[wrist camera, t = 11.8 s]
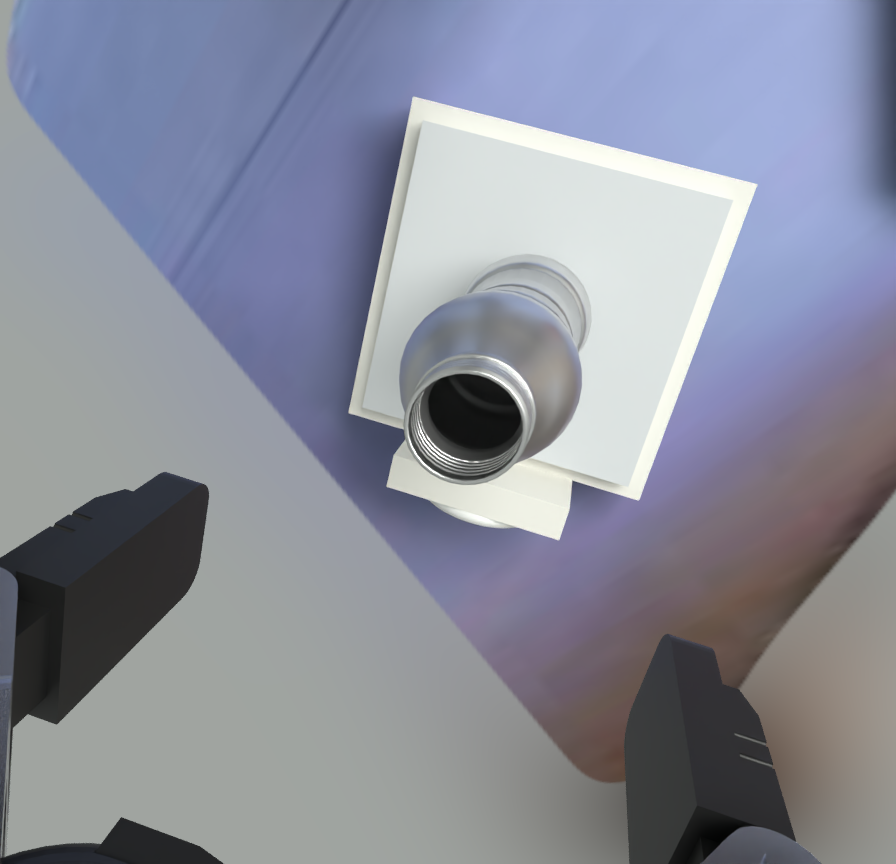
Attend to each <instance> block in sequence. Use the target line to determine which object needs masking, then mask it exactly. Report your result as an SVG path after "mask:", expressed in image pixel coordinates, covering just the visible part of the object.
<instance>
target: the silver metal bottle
mask: <svg viewBox="0 0 896 864" xmlns="http://www.w3.org/2000/svg"><path fill="white" fill-rule="evenodd" d="M591 322H592V316H591V305H590V301H589V296H588V294H587V292H586V290H585V288H584V286H583V284H582V283H581V281H580V280H579V279H578V277H577V276H576V275H575V274H574V273H573V272H572V271H571V270H570V269H568V268H567V267H566V266H565V265H563V264H561V263H559V262H557V261H556V260H554V259H551V258H548V257H544V256H541V255H532V254H523V255H514V256H510V257H507V258H503V259H501V260H499V261H497V262H495V263H493V264H491V265H489V266H488V267H487V268H485V269H484V270H483V271H482V272H480V273H479V274H478V275H477V277H476V278H475V279H474V280H473V281H472V282H471V284H470V286H469V287H468V289H467V291H466V293H465V295H462V296H460V297H458V298H455V299H453V300H451V301H449V302H447V303H445V304H443V305H441V306H439V307H438V308H437V309H435V310H434V311H433V312H432V313H430V314H429V315H428V316H426V317H425V318H424V320H423V321H422V322H421V323H420V324H419V325H418V326H417V328H416V329H415V330H414V331H413V333H412V335H411V337H410V339H409V340H408V342H407V344H406V346H405V349H404V352H403V356H402V359H401V363H400V373H399V386H400V396H401V403H402V406H403V409H404V412H405V415H404V425H403V426H404V435H405V439H406V442H407V446H408V448H409V450H410V452H411V454H412V455H413V457H414V458H415V460H416V461H417V462H418V463H419V464H420V466H421V467H423V468H424V469H425V470H426V471H427V472H429V473H430V474H432V475H433V476H435V477H437V478H439V479H441V480H444V481H447V482H449V483H454V484H460V485H476V484H481V483H486V482H489V481H491V480H493V479H496V478H498V477H499V476H501V475H503V474H504V473H506V472H507V471H508V470H509V469H510V468H511V467H512V466H513V465H514V464H516V463H518V462H521V461H523V460H526V459H528V458H530V457H532V456H534V455H536V454H537V453H539V452H540V451H542V450H544V449H545V448H547V447H548V446H550V445H551V444H552V443H553V442H554V441H555V440H556V439H557V438H558V437H559V436H560V435H561V434H562V433H563V432H564V430H565V429H566V427H567V426H568V424H569V423H570V421H571V420H572V418H573V416H574V413H575V411H576V409H577V406H578V404H579V400H580V394H581V389H582V368H581V361H580V357H579V353H580V352H581V350H582V349H583V347H584V346H585V343H586V341H587V338H588V336H589V333H590V327H591Z"/></svg>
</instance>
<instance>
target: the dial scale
mask: <svg viewBox="0 0 896 864" xmlns="http://www.w3.org/2000/svg"><path fill="white" fill-rule="evenodd" d="M756 187H757V184H754V183H750V182H746V181H742V180H738V179H734V178H731V177H727V176H723V175H719V174H715V173H711V172H707V171H703V170H699V169H695V168H691V167H687V166H683V165H680V164H676V163H672V162H668V161H664V160H660V159H656V158H652V157H648V156H644V155H640V154H636V153H633V152H629V151H625V150H621V149H617V148H613V147H609V146H605V145H601V144H597V143H593V142H589V141H585V140H582V139H578V138H574V137H570V136H566V135H562V134H558V133H554V132H550V131H546V130H542V129H538V128H534V127H531V126H527V125H523V124H519V123H515V122H511V121H507V120H503V119H499V118H495V117H491V116H487V115H483V114H480V113H476V112H472V111H468V110H464V109H460V108H456V107H452V106H448V105H444V104H440V103H436V102H433V101H429V100H425V99H421V98H417V97H413V99H412V104H411V109H410V114H409V119H408V124H407V129H406V134H405V138H404V143H403V148H402V153H401V158H400V163H399V168H398V173H397V178H396V183H395V187H394V192H393V197H392V202H391V207H390V212H389V217H388V222H387V227H386V231H385V236H384V241H383V246H382V251H381V256H380V261H379V266H378V271H377V275H376V280H375V285H374V290H373V295H372V300H371V305H370V310H369V315H368V319H367V324H366V329H365V334H364V339H363V344H362V349H361V354H360V359H359V363H358V368H357V373H356V378H355V383H354V388H353V393H352V398H351V403H350V407H349V412H348V413H350V414H353V415H357V416H360V417H363V418H367V419H370V420H373V421H377V422H380V423H383V424H387V425H390V426H393V427H397V428H400V429H403V430H404V426H403V425H404V415H405V412H404V409H403V406H402V403H401V396H400V386H399V373H400V363H401V359H402V356H403V352H404V349H405V346H406V344H407V342H408V340H409V339H410V337H411V335H412V333H413V331H414V330H415V329H416V328H417V326H418V325H419V324H420V323H421V322H422V321H423V320H424V318H425V317H426V316H428V315H429V314H430V313H432V312H433V311H434V310H435V309H437V308H438V307H439V306H441V305H443V304H445V303H447V302H449V301H451V300H453V299H455V298H458V297H460V296H462V295H465V293H466V291H467V289H468V287H469V286H470V284H471V282H472V281H473V280H474V279H475V278H476V277H477V275H478V274H479V273H480V272H482V271H483V270H484V269H485V268H487V267H488V266H489V265H491V264H493V263H495V262H497V261H499V260H501V259H503V258H507V257H510V256H514V255H523V254H532V255H541V256H544V257H548V258H551V259H554V260H556V261H557V262H559V263H561V264H563V265H565V266H566V267H567V268H568V269H570V270H571V271H572V272H573V273H574V274H575V275H576V276H577V277H578V279H579V280H580V281H581V283H582V284H583V286H584V288H585V290H586V292H587V294H588V296H589V301H590V305H591V316H592V322H591V327H590V333H589V336H588V338H587V341H586V343H585V346H584V347H583V349H582V350H581V352H580V353H579V357H580V361H581V368H582V389H581V394H580V400H579V404H578V406H577V409H576V411H575V413H574V416H573V418H572V420H571V421H570V423H569V424H568V426H567V427H566V429H565V430H564V432H563V433H562V434H561V435H560V436H559V437H558V438H557V439H556V440H555V441H554V442H553V443H552V444H551V445H550V446H548V447H547V448H545V449H544V450H542V451H540V452H539V453H537V454H536V455H534V456H532V457H530V458H528V459H526V460H523V461H521V462H518V463H516V464H514V465H513V466H512V467H511V468H510V469H509V470H508V471H507V472H506V473H504V474H503V475H501V476H499V477H498V478H496V479H493V480H491V481H489V482H486V483H481V484H476V485H460V484H454V483H449V482H447V481H444V480H441V479H439V478H437V477H435V476H433V475H432V474H430V473H429V472H427V471H426V470H425V469H424V468H423V467H421V466H420V464H419V463H418V462H417V461H416V460H415V458H414V457H413V455H412V454H411V452H410V450H409V448H408V446H407V442H406V439H405V441H404V442H403V443H402V445H401V446H400V447H399V449H398V450H397V451H396V453H395V454H394V456H393V460H392V465H391V469H390V473H389V478H388V482H387V486H386V487H389V488H392V489H395V490H398V491H402V492H405V493H408V494H411V495H415V496H418V497H421V498H424V499H427V500H429V501H430V502H431V503H432V504H434V505H435V506H436V507H438V508H439V509H440V510H442V511H444V512H445V513H447V514H449V515H451V516H453V517H456V518H458V519H460V520H463V521H466V522H469V523H473V524H476V525H481V526H485V527H492V528H515V527H518V528H521V529H524V530H527V531H531V532H534V533H537V534H540V535H544V536H547V537H550V538H553V539H556V540H559V539H560V536H561V533H562V530H563V527H564V524H565V521H566V518H567V515H568V512H569V509H570V500H571V489H572V481H576V482H579V483H582V484H586V485H589V486H592V487H596V488H599V489H602V490H606V491H609V492H612V493H616V494H619V495H622V496H625V497H629V498H632V499H635V500H639V499H640V496H641V493H642V491H643V488H644V485H645V483H646V480H647V477H648V475H649V472H650V469H651V467H652V464H653V461H654V459H655V456H656V453H657V451H658V448H659V445H660V443H661V440H662V437H663V435H664V432H665V429H666V427H667V424H668V421H669V419H670V416H671V413H672V411H673V408H674V405H675V403H676V400H677V397H678V395H679V392H680V389H681V387H682V384H683V381H684V379H685V376H686V373H687V371H688V368H689V365H690V363H691V360H692V357H693V355H694V352H695V349H696V347H697V344H698V341H699V339H700V336H701V334H702V331H703V328H704V326H705V323H706V320H707V318H708V315H709V312H710V310H711V307H712V304H713V302H714V299H715V296H716V294H717V291H718V288H719V286H720V283H721V280H722V278H723V275H724V272H725V270H726V267H727V264H728V262H729V259H730V256H731V254H732V251H733V248H734V246H735V243H736V240H737V238H738V235H739V232H740V230H741V227H742V224H743V222H744V219H745V216H746V214H747V211H748V208H749V206H750V203H751V200H752V198H753V195H754V192H755V190H756Z"/></svg>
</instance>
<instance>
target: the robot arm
mask: <svg viewBox="0 0 896 864" xmlns="http://www.w3.org/2000/svg"><path fill="white" fill-rule="evenodd" d="M208 500H209V491H208V488H207V486H206V485H204V484H202V483H198V482H195V481H192V480H189V479H186V478H183V477H180V476H176V475H173V474H170V473H167V472H163V473H160V474H159V475H157V476H156V477H154V478H153V479H151V480H150V481H148V482H147V483H145V484H144V485H142V486H141V487H139V488H138V489H136V490H135V491H129V490H126V489H124V490H121V491H117V492H114V493H110V494H106V495H103V496H99V497H96V498H94V499H92V500H91V501H89V502H88V503H86V504H85V505H83V506H81V507H80V508H78V509H77V510H75V511H73V514H72V515H67V516H66V517H64V518H62V519H61V520H59V521H58V522H56V523H55V525H54V527H49V528H47V529H45V530H43V531H42V532H40V533H39V534H37V535H36V536H34V537H33V538H31V539H29V540H28V541H26V542H25V543H23V544H22V545H20V546H19V547H17V548H15V549H14V550H12V551H10V552H9V553H7V554H6V555H4V556H3V557H1V558H0V864H223V863H222V862H221V861H219V860H218V859H217V858H215V857H213V856H212V855H211V854H210V853H208V852H207V851H205V850H204V849H203V848H201V847H200V846H197V845H195V844H192V843H189V842H187V841H184V840H181V839H178V838H176V837H173V836H170V835H168V834H165V833H162V832H159V831H157V830H154V829H151V828H149V827H146V826H143V825H140V824H138V823H135V822H133V821H130V820H127V819H124V818H122V817H121V818H120V820H119V821H118V822H117V824H116V825H115V826H114V828H113V829H112V830H111V832H110V833H109V834H108V836H107V837H106V838H105V840H104V841H103V842H102V844H94V843H78V844H77V843H76V844H75V843H74V844H61V845H53V846H45V847H40V848H36V849H31V850H27V851H22V852H19V853H16V854H12V855H9V856H6V849H7V830H8V813H9V795H10V776H11V758H12V740H13V727H14V726H15V725H17V724H18V723H19V721H21V720H22V719H23V718H24V717H25V716H26V715H27V714H29V715H32V716H34V717H37V718H40V719H43V720H46V721H48V722H51V723H54V724H58V723H59V722H60V721H61V720H62V719H63V718H64V717H65V716H66V715H67V714H68V713H69V712H70V711H71V710H72V709H73V708H74V707H75V706H76V705H77V704H78V703H79V702H80V701H81V700H82V699H83V698H84V697H85V696H86V695H87V694H88V693H89V692H90V691H91V690H92V689H93V688H94V687H95V686H96V684H98V683H99V681H100V680H102V679H103V677H104V676H105V675H106V674H107V673H108V672H109V671H110V670H111V669H112V668H113V667H114V666H115V665H116V664H117V663H118V662H119V661H120V660H121V659H122V658H123V657H124V656H125V655H126V654H127V653H128V652H129V651H130V650H131V649H132V648H133V647H134V646H135V645H136V644H137V643H138V642H139V641H140V640H141V639H142V638H143V637H144V636H145V635H146V634H147V633H148V632H149V631H150V630H151V629H152V628H153V627H154V626H155V625H156V624H157V623H158V622H159V621H160V620H161V619H162V618H163V617H164V616H165V615H166V614H167V613H168V612H169V611H170V610H171V609H172V608H173V607H174V606H175V605H176V604H177V603H178V602H179V601H180V600H181V599H182V598H183V597H184V596H185V594H186V593H187V592H188V590H189V588H190V587H191V585H192V583H193V581H194V579H195V576H196V574H197V571H198V568H199V564H200V557H201V550H202V543H203V535H204V529H205V521H206V514H207V507H208ZM624 753H625V775H626V795H627V819H628V840H629V862H630V864H821V863H820V862H819V861H818V860H817V859H816V858H815V857H814V856H813V855H812V854H811V853H810V852H809V851H807V850H806V849H805V848H803V847H802V846H801V845H799V844H798V843H796V840H795V836H794V833H793V830H792V826H791V823H790V820H789V816H788V812H787V809H786V806H785V802H784V799H783V796H782V792H781V789H780V786H779V782H778V779H777V776H776V772H775V769H772V765H773V762H772V759H771V755H770V752H769V749H768V747H766V739H765V735H764V732H763V729H762V725H761V722H760V719H759V716H758V714H757V713H756V712H755V710H754V709H753V708H752V706H751V705H750V704H749V702H748V701H747V700H746V698H745V697H744V696H743V694H742V693H741V692H740V690H739V689H736V688H733V687H730V686H727V685H723V684H722V680H721V676H720V672H719V668H718V664H717V660H716V656H715V652H714V650H713V649H712V648H710V647H707V646H704V645H701V644H697V643H694V642H691V641H688V640H685V639H682V638H679V637H676V636H672V635H669V634H666V635H664V636H663V638H662V639H661V641H660V642H659V645H658V647H657V649H656V651H655V654H654V656H653V659H652V661H651V663H650V666H649V668H648V670H647V673H646V675H645V677H644V680H643V682H642V684H641V687H640V689H639V692H638V694H637V696H636V699H635V701H634V703H633V706H632V708H631V711H630V714H629V718H628V722H627V727H626V732H625V741H624Z"/></svg>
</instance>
